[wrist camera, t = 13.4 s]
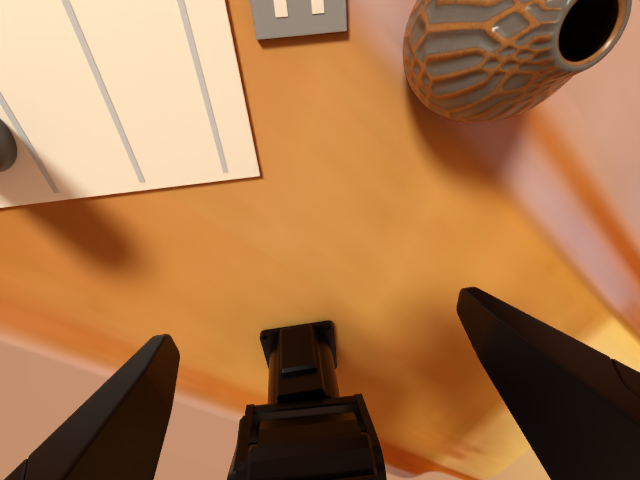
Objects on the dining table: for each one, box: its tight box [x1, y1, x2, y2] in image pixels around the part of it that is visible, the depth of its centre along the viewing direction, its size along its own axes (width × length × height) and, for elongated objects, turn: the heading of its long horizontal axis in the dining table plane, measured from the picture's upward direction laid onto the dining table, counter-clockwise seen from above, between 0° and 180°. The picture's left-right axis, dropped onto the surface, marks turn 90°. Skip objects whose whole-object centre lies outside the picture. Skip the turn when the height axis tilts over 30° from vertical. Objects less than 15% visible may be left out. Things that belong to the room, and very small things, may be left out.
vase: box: [403, 0, 632, 123], centre depth 12 cm, size 7×7×9 cm
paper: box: [0, 0, 260, 208], centre depth 15 cm, size 13×19×1 cm
